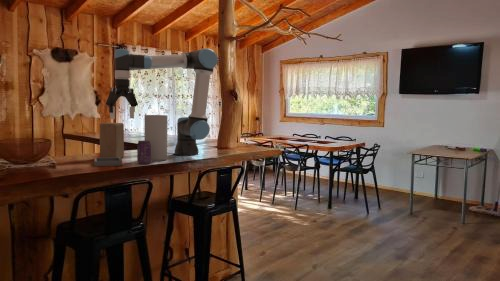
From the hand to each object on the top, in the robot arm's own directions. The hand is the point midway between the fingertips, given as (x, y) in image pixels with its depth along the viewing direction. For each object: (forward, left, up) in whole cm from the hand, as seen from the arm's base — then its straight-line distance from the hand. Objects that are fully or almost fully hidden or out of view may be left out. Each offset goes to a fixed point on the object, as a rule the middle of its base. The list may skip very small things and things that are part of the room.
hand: (122, 118), depth 216 cm
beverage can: (-10, +10, -23) cm, 27 cm away
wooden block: (+5, -12, -23) cm, 27 cm away
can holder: (+8, +9, -23) cm, 26 cm away
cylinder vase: (-18, -2, -23) cm, 30 cm away
